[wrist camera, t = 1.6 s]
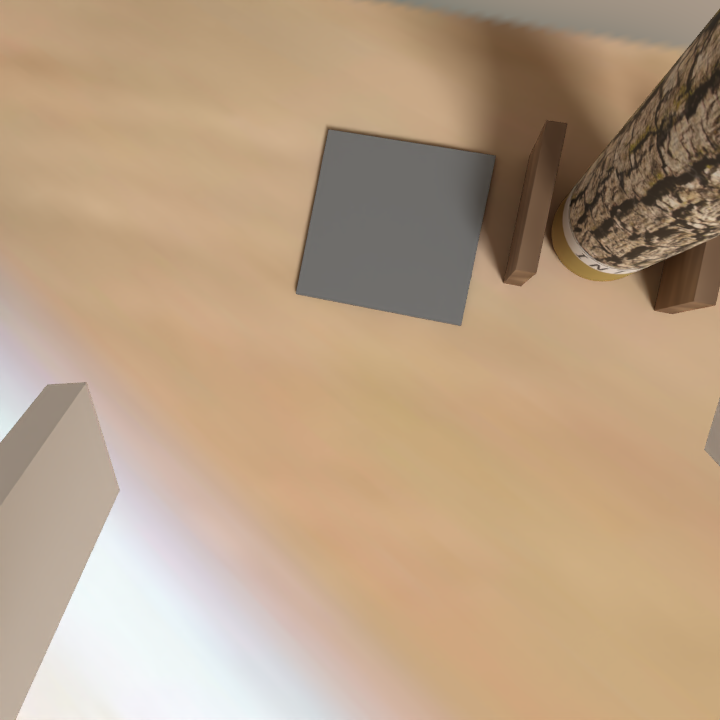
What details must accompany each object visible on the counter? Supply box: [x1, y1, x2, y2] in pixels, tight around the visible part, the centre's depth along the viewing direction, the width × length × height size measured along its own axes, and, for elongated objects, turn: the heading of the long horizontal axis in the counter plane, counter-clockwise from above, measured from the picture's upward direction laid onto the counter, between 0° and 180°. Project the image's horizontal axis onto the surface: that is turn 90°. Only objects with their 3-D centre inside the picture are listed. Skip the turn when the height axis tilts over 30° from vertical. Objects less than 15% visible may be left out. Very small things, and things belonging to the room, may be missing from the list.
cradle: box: [504, 121, 720, 314], centre depth 37 cm, size 11×9×6 cm
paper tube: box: [552, 9, 720, 281], centre depth 28 cm, size 7×7×25 cm
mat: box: [296, 130, 496, 326], centre depth 42 cm, size 12×12×1 cm
